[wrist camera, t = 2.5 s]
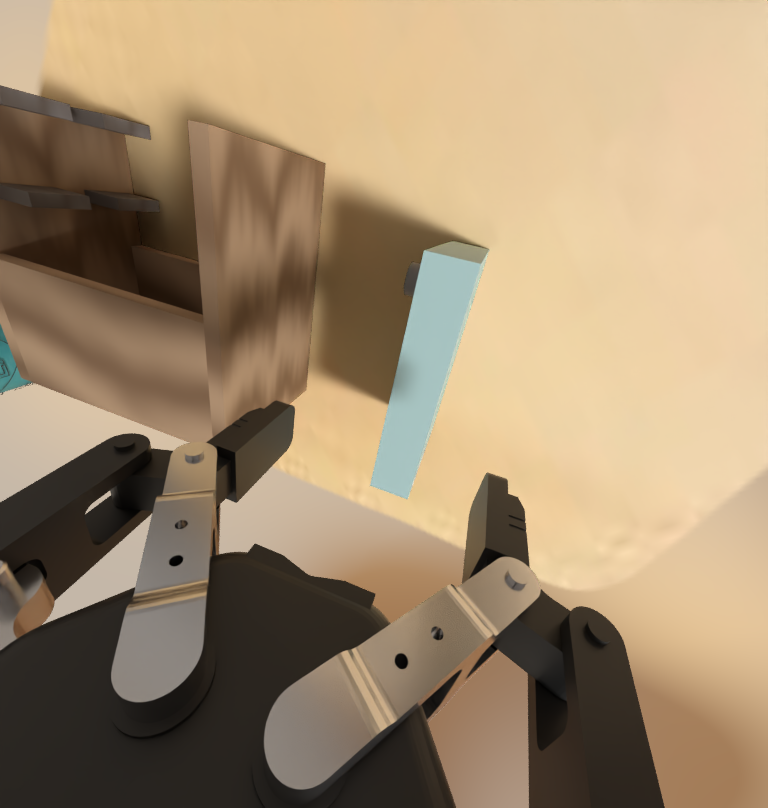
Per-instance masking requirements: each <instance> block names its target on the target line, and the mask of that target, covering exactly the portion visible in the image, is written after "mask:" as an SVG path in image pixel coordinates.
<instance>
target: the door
mask: <svg viewBox="0 0 768 808" xmlns="http://www.w3.org/2000/svg"><path fill="white" fill-rule="evenodd" d="M488 252H489V249H486V248H481V247H477V246H473V245H469V244H464V243H460V242H456V241H451V242H448V243H445V244H441V245H438V246H435V247H432V248H429V249H426V250H424V252H423V257H422V261H421V264H420V263H416V262H412V263H411V264H410V266H409V269H408V272H407V275H406V279H405V283H404V295H407V296H411V297H413V300H412V305H411V309H410V314H409V318H408V322H407V327H406V331H405V335H404V340H403V344H402V349H401V353H400V357H399V362H398V366H397V370H396V375H395V379H394V383H393V388H392V392H391V397H390V401H389V405H388V410H387V414H386V418H385V423H384V427H383V432H382V436H381V440H380V445H379V449H378V453H377V458H376V462H375V467H374V471H373V475H372V480H371V484H370V486H373V487H376V488H378V489H381V490H384V491H386V492H389V493H392V494H394V495H397V496H400V497H403V498H405V499H408V497H409V494H410V491H411V488H412V486H413V483H414V480H415V477H416V474H417V471H418V468H419V466H420V463H421V460H422V457H423V454H424V451H425V448H426V446H427V443H428V440H429V437H430V434H431V431H432V428H433V426H434V423H435V419H436V416H437V413H438V410H439V407H440V403H441V400H442V397H443V394H444V391H445V388H446V385H447V381H448V378H449V375H450V372H451V369H452V366H453V363H454V359H455V356H456V353H457V350H458V347H459V344H460V340H461V337H462V334H463V331H464V328H465V325H466V322H467V318H468V315H469V312H470V309H471V306H472V303H473V300H474V296H475V293H476V290H477V287H478V284H479V281H480V277H481V274H482V271H483V268H484V265H485V262H486V259H487V255H488Z"/></svg>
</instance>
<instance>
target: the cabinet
mask: <svg viewBox="0 0 768 808" xmlns="http://www.w3.org/2000/svg"><path fill="white" fill-rule="evenodd" d="M188 132H189V144H190V157H191V169H192V182H193V195H194V207H195V220H196V233H197V245H198V258H199V261H196V260H192V259H188V258H185V257H181V256H178V255H174V254H171V253H167V252H163V251H160V250H156V249H153V248H149V247H146V246H142V245H141V238H140V232H139V225H138V219H137V212H136V211H145V212H160V209H159V201H157V200H153V199H149V198H145V197H141V196H137V195H134V193H133V186H132V180H131V174H130V167H129V161H128V154H127V148H126V141H125V135H124V134H126V135H131V136H135V137H140V138H145V139H149V140H151V137H150V129H149V126H146V125H142V124H138V123H135V122H131V121H128V120H124V119H120V118H117V117H113V116H109V115H106V114H102V113H97V112H92V111H88V110H83V109H78V108H73V107H70V105H69V104H66V103H62V102H59V101H55V100H51V99H48V98H44V97H40V96H37V95H33V94H30V93H26V92H22V91H19V90H15V89H11V88H8V87H4V86H0V324H1V327H2V329H3V332H4V335H5V337H6V340H7V342H8V345H9V347H10V350H11V353H12V355H13V358H14V360H15V363H16V366H17V368H18V371H19V373H20V376H21V378H23V379H25V380H28V381H31V382H33V383H36V384H39V385H41V386H44V387H46V388H49V389H51V390H54V391H57V392H59V393H62V394H64V395H67V396H70V397H73V398H75V399H78V400H80V401H83V402H85V403H88V404H91V405H93V406H96V407H98V408H101V409H104V410H106V411H109V412H112V413H114V414H117V415H120V416H122V417H124V418H127V419H130V420H132V421H135V422H138V423H140V424H143V425H145V426H148V427H150V428H153V429H156V430H158V431H161V432H164V433H166V434H169V435H171V436H174V437H177V438H179V439H182V440H184V441H187V442H190V443H191V442H205V443H206V442H207V441H209V440H210V439H211V438H213V437H214V436H216V435H217V434H218V433H220V432H221V431H222V430H224V429H225V428H227V427H228V426H229V425H232V423H233V422H235V421H236V420H239V418H240V417H242V416H243V415H244V414H246V413H247V412H249V411H252V410H255V409H258V408H264V409H265V408H266V407H267V406H268V405H270V404H271V403H272V402H274V401H276V400H277V401H280V402H283V403H286V404H290V403H291V402H293V401H294V400H295V399H296V398H297V397H298V396H300V395H301V394H302V393H303V392H304V391H306V387H307V375H308V363H309V352H310V340H311V328H312V316H313V304H314V292H315V281H316V269H317V257H318V245H319V233H320V221H321V210H322V198H323V186H324V174H325V163H322V162H319V161H316V160H313V159H310V158H307V157H304V156H301V155H298V154H295V153H292V152H289V151H286V150H283V149H280V148H278V147H275V146H272V145H269V144H266V143H263V142H260V141H257V140H254V139H251V138H248V137H245V136H242V135H239V134H236V133H233V132H230V131H227V130H224V129H221V128H218V127H216V126H213V125H210V124H206V123H201V122H196V121H191V120H188Z"/></svg>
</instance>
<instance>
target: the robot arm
mask: <svg viewBox="0 0 768 808" xmlns="http://www.w3.org/2000/svg"><path fill="white" fill-rule="evenodd" d="M294 415H295V408H294V406H292V405H289V404H286V403H283V402H280V401H277V400H276V401H274V402H272V403H271V404H270V405H268V406H267V407H266V408H265V409H264V408H258V409H255V410H252V411H249V412H247V413H246V414H244V415H243V416H242V417H240V418H239V420H236V421H235V422H233V423H232V425H229V426H228V427H227V428H225V429H224V430H222V431H221V432H220V433H218V434H217V435H216V436H214V437H213V438H211V439H210V440H209V441H207V442H206V443H205V442H191V443H187V444H184V445H181V446H180V447H178V448H176V449H175V450H174V451H169V450H160V449H151V446H150V441H149V439H148V438H147V437H146V436H144V435H140V434H122V435H118V436H114V437H112V438H110V439H108V440H106V441H104V442H102V443H101V444H99V445H97V446H96V447H94V448H92V449H90V450H89V451H87V452H85V453H84V454H82V455H80V456H79V457H77V458H75V459H74V460H72V461H70V462H68V463H67V464H65V465H63V466H62V467H60V468H58V469H56V470H55V471H53V472H51V473H50V474H48V475H46V476H45V477H43V478H41V479H40V480H38V481H36V482H34V483H33V484H31V485H29V486H28V487H26V488H24V489H23V490H21V491H20V492H17V493H16V494H14V495H13V496H11V497H9V498H7V499H6V500H4V501H2V502H0V808H456V806H455V803H454V800H453V797H452V794H451V791H450V788H449V785H448V782H447V779H446V776H445V773H444V770H443V767H442V764H441V761H440V758H439V755H438V752H437V749H436V746H435V743H434V741H433V738H432V734H431V731H430V728H429V726H428V722H429V721H430V720H431V719H432V718H433V717H434V716H435V715H436V714H437V713H438V712H439V711H440V710H441V709H442V708H443V707H444V706H445V705H446V704H447V703H448V702H449V701H450V700H451V698H452V697H453V696H454V695H455V694H456V693H457V691H458V690H459V689H460V688H461V687H462V686H463V685H464V684H465V683H466V682H467V681H468V680H469V679H470V678H471V677H472V676H473V675H474V674H475V673H476V672H477V671H478V670H480V669H481V668H482V667H483V666H484V665H485V664H486V663H487V662H488V660H490V659H491V658H492V657H493V656H494V655H495V654H496V653H497V652H498V651H501V652H502V653H503V654H504V655H506V656H507V657H508V658H510V659H511V660H512V661H513V662H514V663H516V664H517V665H518V666H519V667H521V668H522V669H523V670H524V671H526V672H527V673H528V735H529V736H528V740H529V741H528V742H529V808H665V807H664V803H663V799H662V795H661V791H660V787H659V783H658V779H657V774H656V770H655V767H654V763H653V759H652V754H651V750H650V746H649V742H648V738H647V734H646V730H645V726H644V722H643V717H642V713H641V709H640V705H639V701H638V697H637V693H636V689H635V686H634V681H633V677H632V673H631V669H630V665H629V660H628V657H627V653H626V648H625V645H624V642H623V640H622V637H621V635H620V634H619V632H618V631H617V629H616V628H615V627H614V625H613V624H612V623H611V622H610V621H609V620H608V619H607V618H606V617H604V616H603V615H602V614H600V613H598V612H597V611H595V610H593V609H591V608H588V607H582V606H581V607H576V608H574V609H573V610H572V611H569V610H568V609H566V608H565V607H563V606H562V605H560V604H559V603H558V602H556V601H554V600H553V599H552V598H550V597H549V596H548V595H547V594H545V593H544V592H543V591H542V590H541V588H540V583H539V580H538V578H537V576H536V575H535V573H534V572H533V571H532V570H531V569H530V567H529V556H528V545H527V534H526V523H525V511H524V508H523V506H522V504H521V502H520V501H519V499H518V497H516V496H513V495H510V494H508V481H507V479H505V478H502V477H499V476H496V475H493V474H490V473H486V475H485V477H484V479H483V481H482V483H481V485H480V488H479V490H478V492H477V494H476V497H475V499H474V501H473V504H472V506H471V510H470V514H469V521H468V531H467V540H466V550H465V559H464V569H463V579H462V584H461V585H460V586H458V587H456V588H455V587H454V586H453V585H452V584H451V585H448V586H446V587H445V588H443V589H442V590H440V591H439V592H437V593H436V594H434V595H433V596H431V597H430V598H428V599H427V600H425V601H424V602H422V603H421V604H419V605H418V606H417V607H415V608H414V609H412V610H411V611H409V612H408V613H406V614H405V615H403V616H402V617H400V618H399V619H398V620H396V621H394V622H393V623H390V622H389V621H388V619H387V618H386V617H385V616H384V615H383V614H382V612H381V611H380V610H378V609H377V608H376V607H375V606H373V605H372V604H373V601H374V597H375V594H374V593H372V592H369V591H367V590H365V589H362V588H360V587H358V586H355V585H353V584H350V583H348V582H346V581H341V580H334V579H328V578H321V577H314V576H310V575H308V574H306V573H305V572H304V571H302V570H301V569H300V568H299V567H297V566H296V565H295V564H294V563H292V562H291V561H290V560H288V559H287V558H286V557H285V556H283V555H281V554H279V553H276V552H274V551H272V550H269V549H267V548H264V547H262V546H260V545H257V544H254V545H253V547H252V548H251V549H250V551H249V552H248V553H247V552H230V553H224V554H219V536H220V503H222V502H223V501H224V500H225V499H229V500H231V501H234V502H238V501H239V500H240V499H241V498H242V497H243V496H244V495H245V493H246V492H247V491H248V490H249V489H250V488H251V487H252V486H253V485H254V484H255V483H256V482H257V481H258V480H259V479H260V478H261V477H262V475H264V473H266V472H267V471H268V469H269V468H270V467H271V466H272V465H273V464H274V463H275V462H276V461H277V460H278V459H279V458H280V457H281V456H282V455H283V454H284V453H285V452H286V451H287V449H288V448H289V446H290V444H291V442H292V438H293V428H294ZM108 491H111V496H109V497H108V498H107V499H105V500H104V501H103V502H101V503H100V504H99V505H98V506H96V507H95V508H93V509H92V510H91V511H89V512H88V513H87V514H85V513H86V511H87V509H88V507H89V506H90V505H91V504H92V503H93V502H95V501H96V500H97V499H99V498H100V497H101V496H103V495H104V494H105V493H107V492H108ZM151 513H152V517H151V522H150V526H149V530H148V535H147V539H146V543H145V548H144V552H143V557H142V561H141V565H140V569H139V574H138V578H137V583H136V587H135V588H132V589H130V590H127V591H125V592H122V593H120V594H118V595H115V596H113V597H110V598H108V599H105V600H103V601H100V602H98V603H95V604H93V605H90V606H88V607H86V608H83V609H80V610H78V611H75V612H73V613H70V614H68V615H65V616H63V617H60V618H58V619H56V620H53V621H51V622H48V623H46V624H43V623H44V622H45V621H46V619H47V618H48V617H49V616H50V614H51V612H52V610H53V607H54V602H55V600H56V599H57V598H58V597H59V596H60V595H61V594H63V593H64V592H65V591H66V590H67V589H68V588H69V587H70V586H72V585H73V584H74V583H75V582H76V581H77V580H78V579H79V578H80V577H81V576H83V575H84V574H85V573H86V572H87V571H88V570H89V569H90V568H91V567H93V566H94V565H95V564H96V563H97V562H98V561H99V560H100V559H102V558H103V557H104V556H105V555H106V554H107V553H108V552H109V551H110V550H111V549H112V548H114V547H115V546H116V545H117V544H118V543H119V542H121V541H122V540H123V539H124V538H125V537H126V536H127V535H128V534H129V533H131V531H133V530H134V529H135V528H136V527H137V526H138V525H139V524H140V523H142V522H143V521H144V520H145V519H146V518H147V517H148V516H149V515H151ZM42 624H43V625H42Z"/></svg>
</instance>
